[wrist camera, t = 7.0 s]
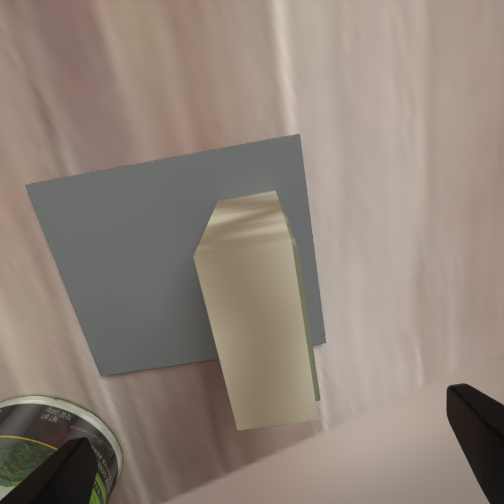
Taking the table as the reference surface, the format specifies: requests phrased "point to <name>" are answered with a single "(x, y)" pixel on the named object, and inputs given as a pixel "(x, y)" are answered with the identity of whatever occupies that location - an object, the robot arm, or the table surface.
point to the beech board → (258, 311)
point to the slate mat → (162, 247)
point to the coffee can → (53, 441)
